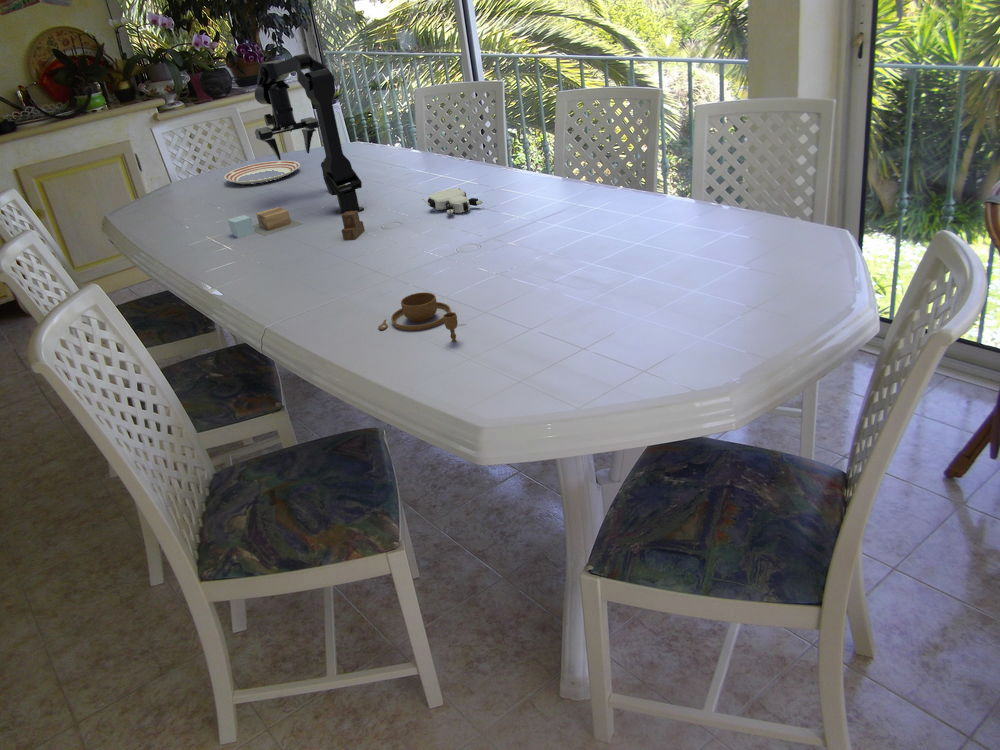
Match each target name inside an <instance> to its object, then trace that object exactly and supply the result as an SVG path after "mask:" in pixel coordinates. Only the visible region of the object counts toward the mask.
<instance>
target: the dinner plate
mask: <svg viewBox="0 0 1000 750" xmlns="http://www.w3.org/2000/svg"><path fill="white" fill-rule="evenodd" d="M300 166H301V164H300V163H299V162H297V161H294V160H273V161H263V162H262V161H261V162H258V163H257V162H256V163H252V164H249V165H246V166H241V167H238V168H235V169H233V170H231V171H230V172H227V173H226V174H225V175H224V176H223V177H224V179H225V180H227V181H228V182H231V183H234V184H241V185H244V184H251V183H260V182H266V181H270V180H274V179H278V178H281V179H283V178H282V177H284V176H286V177H288V176H289V175H291V174H292V173H293V172H295V171H297V170H298V169H299V168H300ZM272 170H274V171H278V172H284V173H285V174H281V175H278V176H274V177H269V178H264V179H258V180H250V181H238V179H239V178H240V177H242V176H245V175H250V174H255V173H259V172H265V171H272ZM284 178H285V177H284ZM278 180H279V179H278Z"/></svg>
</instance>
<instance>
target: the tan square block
mask: <svg viewBox="0 0 1000 750" xmlns="http://www.w3.org/2000/svg"><path fill="white" fill-rule="evenodd" d="M256 218H257V223H258V224H259V226H260V227H262V228H264V229H266V230H269V231H270V230H273V229H277V228H280V227H283V226H286V225H290V224H291V220H292V219H291V216H290V213H289V210H287V209H284V208H282V207H280V206H277V207H274V208H271V209H268V210H263V211H261V212H257V213H256ZM290 219H291V220H290Z"/></svg>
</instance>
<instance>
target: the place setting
mask: <svg viewBox="0 0 1000 750" xmlns="http://www.w3.org/2000/svg"><path fill="white" fill-rule="evenodd" d="M436 297H437V296H436V295H435V294H433V293H432V292H416V293H411V294H409V295H406V296H405V297H403V298H402V299H401V301H400V305H401V307H400V308H399V309H398V310H396V311H395V312H394V313H392V315H391V318H390V320H391V323H392V324H393V326H394V327H395V328H396V329H399V330H402V331H405V332H406V331H412V332H414V331H424V330H429V329H432V328H435V327H437V326H440V325H442V324H444V326H445V328H446V329H447V330H449V331H450V337H449V338H450V339H451V341H450V342H451V343H457V341H458V339H457V334H456V331H455V329H457V328H458V326H459V323H458V317H457V316H458V315H457V313H456V312H451V311H452V310H451V307H450V305H448V304H446V303H444V302H439V301H437V298H436ZM438 309H439V310H443V311H445V312H446V313H444V314H443V315H442V317H441V318H439V319H437V320H435V321H432V322H428V321H430V320H431V319H432V318H433V316H435V314H437V311H438ZM402 316H404V317H405V318H406V319H408V320H409V321H412V322H413V323H415V324H416V323H417V325H405V324H400V323H397V321H398V319H399V318H400V317H402ZM386 322H387V319H383V322H382V323H381V324H380V325H379V326H377V327H378V330H379V331H384V330H386V329H388V326H389V325H388V324H387V323H386ZM425 322H427V323H425ZM419 323H423V324H419ZM462 325H463V326H464V325H465V323H464V324H461V326H462Z"/></svg>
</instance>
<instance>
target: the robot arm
mask: <svg viewBox="0 0 1000 750" xmlns="http://www.w3.org/2000/svg"><path fill="white" fill-rule="evenodd" d="M307 69H308V70H310V71H309V72H305V73H304V72H303V71H304V70H305V71H306V70H307ZM257 72H258V73H257V79H256V83H257V87H256V89H255V90H254V98H255V100H256V101H257V102H258V103H259V104H260V105H270V106H271V111H272V114H271V113H267V114H264V115H263V118H264V122H265V125H266V126H263V127H259V128H256V129H255V131H254V135H255V139H257V140H260V141H261V142H264V143H267V145H268V146H269V147H270V148H271V149H272V151H273V153H274V155H275V156H276V158H277V159H278V161H282V158H281V154H280V150H279V147H278V144H277V141H276V138H274V137H273V136H274V135H278V134H282V133H287V132H291V131H296V130H300V129H301V132H302V136H303V140H304V141H303V142H304V146H305V147H304V148H305V152H306V154H310V148H311V142H312V138H313V135H314V132H316V131H317V130H316V129H317V128H319V132H320V135H321V140H322V145H323V148H324V154H325V157H324V159H325V161H324V162H323V161H321V163H320V167H321V170H322V177H323V181H324V183H325V186H326V188H327V191H329V192H328V193H329V194H330V195H331V196H336V199H337V203H338V207H339V209H337V210H335V213H337V214H340V215H343V214H344V213H345V212H348V211H358V212H361V211H364V210H365V207H362V206H360V205H359V200H358V195H357V190H358V189H361V188H362V187H363V186H362V185H363V184H362V183H363V182H362V180H361V178H360V177H359V176H358V175H357V173H356V171H355V170H354V169H353V167H352V163H351V161H350V160H349V159H348V157H346V156H345V154H344V153H343V148H342V142H341V138H340V133H339V128H338V125H337V123H338V122H337V121H336V115H335V109H334V105H333V101H334V97H335V94H336V83H335V77H334V74H333V72H331V70H330V69H329V68H328V66H326V65H325V64H324V63H322V62H320V61H318V60H316V59H314V58H313V57H312V56H311V55H310V54H309V53H302V54H297V55H293V56H292V57H289V58H287V59H277V60H276V59H275V60H271V61H267V62H262V63H260V64H259V68H258V71H257ZM292 73H296V75H297V76H296V78H297V79H296V80H297V82H298V83H299V85H301V87H302V88H303V89H304V92H305V94H306V97H307V98H308V99H309V100H310V102H311V103H312V104H313V105H314V110H315V113H316V116H317V117H313V116H310V117H306V118H302V119H301V118H300V122H296V120H295V116H294V109H293V107H292V104H291V99H290V96H289V91H288V89H290V85H289V84H288V83H286V81H285V80H286V79H287V78H288V77H290V74H292ZM271 126H272V128H271ZM344 184H345V185H344ZM341 185H344V186H341ZM338 186H340V187H338Z"/></svg>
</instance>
